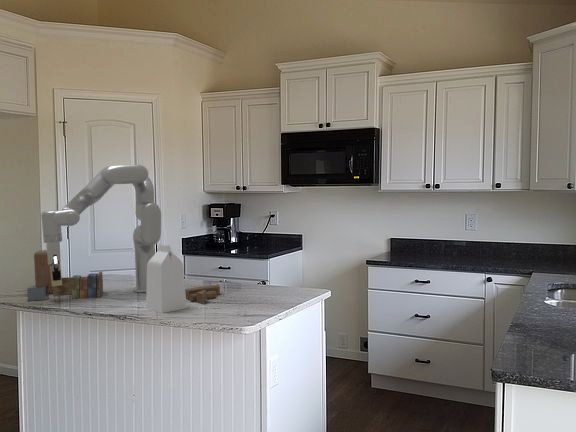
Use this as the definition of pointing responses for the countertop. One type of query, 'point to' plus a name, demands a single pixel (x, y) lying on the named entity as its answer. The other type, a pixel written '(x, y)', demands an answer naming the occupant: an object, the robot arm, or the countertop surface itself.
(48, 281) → the wooden block
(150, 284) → the milk
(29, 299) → the grey stone cube
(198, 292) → the wooden block set
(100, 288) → the rack
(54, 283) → the tan rectangular block
